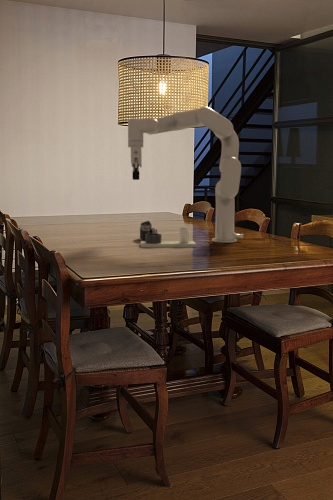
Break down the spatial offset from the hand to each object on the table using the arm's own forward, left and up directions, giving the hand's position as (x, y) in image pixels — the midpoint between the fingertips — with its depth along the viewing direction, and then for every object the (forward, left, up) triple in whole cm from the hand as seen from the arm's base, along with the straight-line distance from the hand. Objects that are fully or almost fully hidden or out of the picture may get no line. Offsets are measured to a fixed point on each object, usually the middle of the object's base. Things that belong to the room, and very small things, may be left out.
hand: (135, 179), depth 282 cm
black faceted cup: (-8, +15, -30) cm, 34 cm away
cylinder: (-23, +15, -30) cm, 40 cm away
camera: (-7, -6, -31) cm, 33 cm away
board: (-15, +15, -31) cm, 38 cm away
